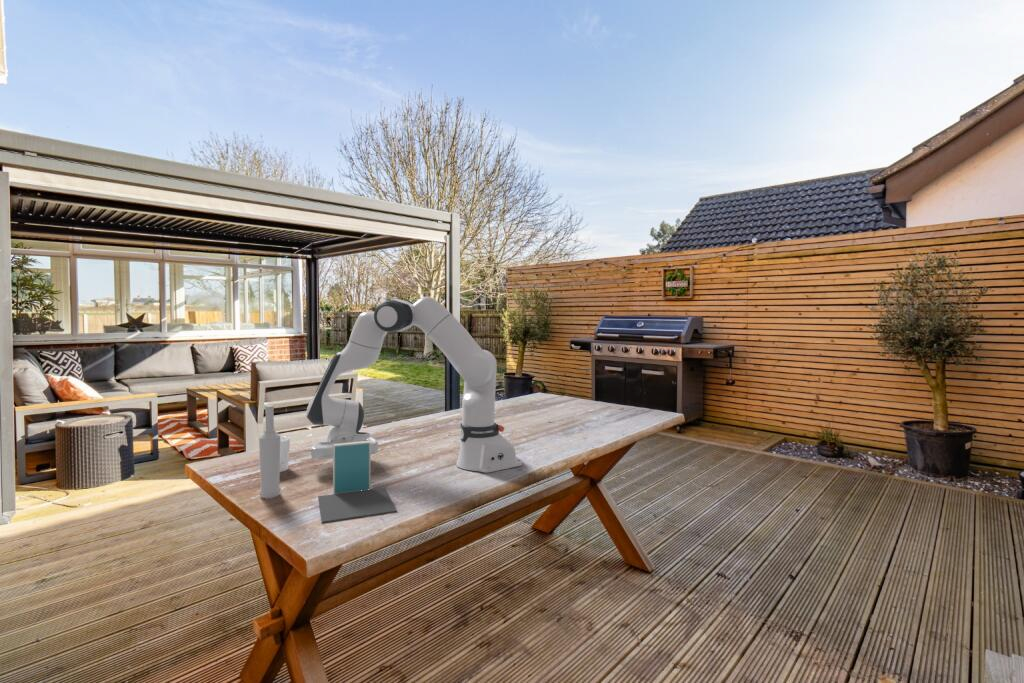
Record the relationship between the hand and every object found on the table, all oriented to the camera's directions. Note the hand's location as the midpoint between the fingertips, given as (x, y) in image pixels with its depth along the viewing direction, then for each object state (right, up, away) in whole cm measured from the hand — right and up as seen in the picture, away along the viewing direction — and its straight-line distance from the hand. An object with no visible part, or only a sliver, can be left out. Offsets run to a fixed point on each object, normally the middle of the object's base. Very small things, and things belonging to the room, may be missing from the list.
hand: (347, 455), depth 147 cm
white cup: (-25, -6, +6) cm, 27 cm away
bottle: (-16, -8, -15) cm, 23 cm away
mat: (+9, -8, -20) cm, 23 cm away
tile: (+5, -8, -11) cm, 14 cm away
